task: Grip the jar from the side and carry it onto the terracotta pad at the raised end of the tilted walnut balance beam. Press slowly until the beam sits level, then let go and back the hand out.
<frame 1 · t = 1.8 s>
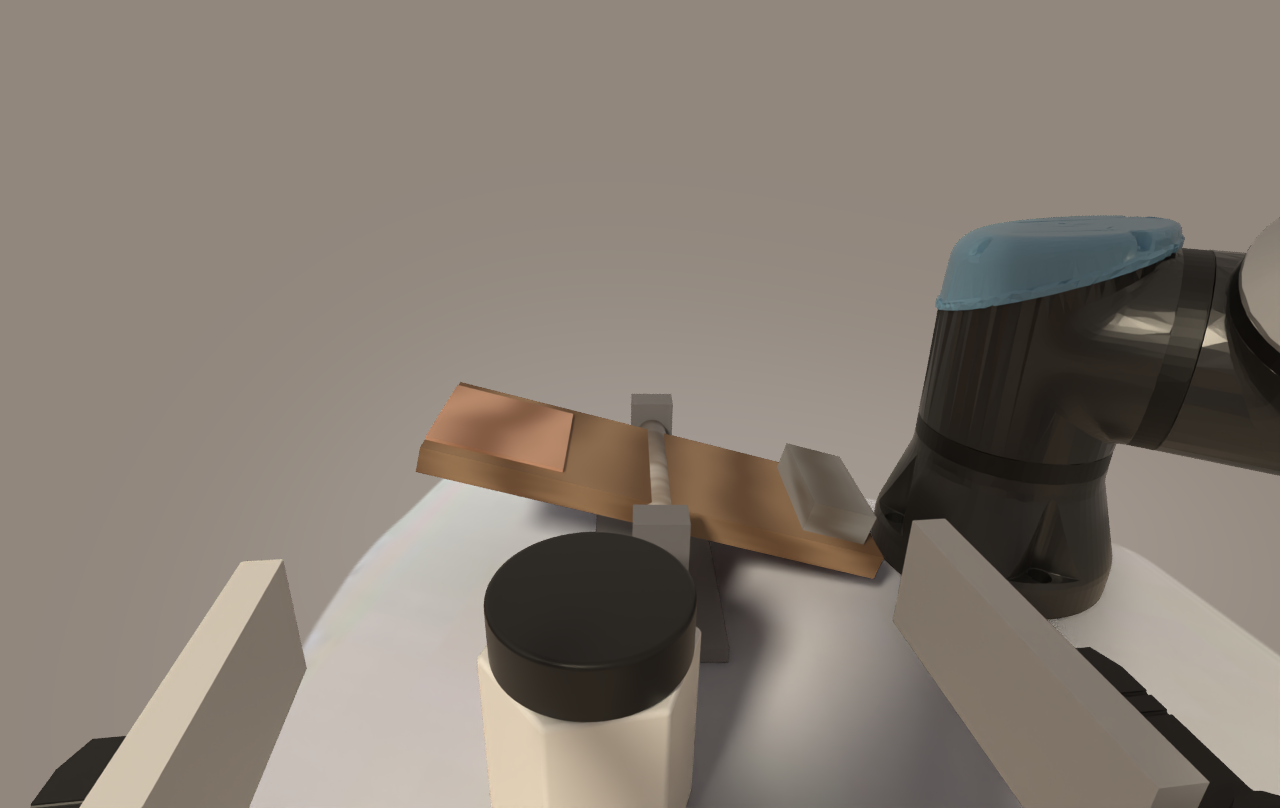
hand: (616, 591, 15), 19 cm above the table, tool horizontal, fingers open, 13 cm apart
beam: (658, 462, 45), point 8 cm above the table, hinge at -15.0°
pivot stand: (652, 564, 48), on the table
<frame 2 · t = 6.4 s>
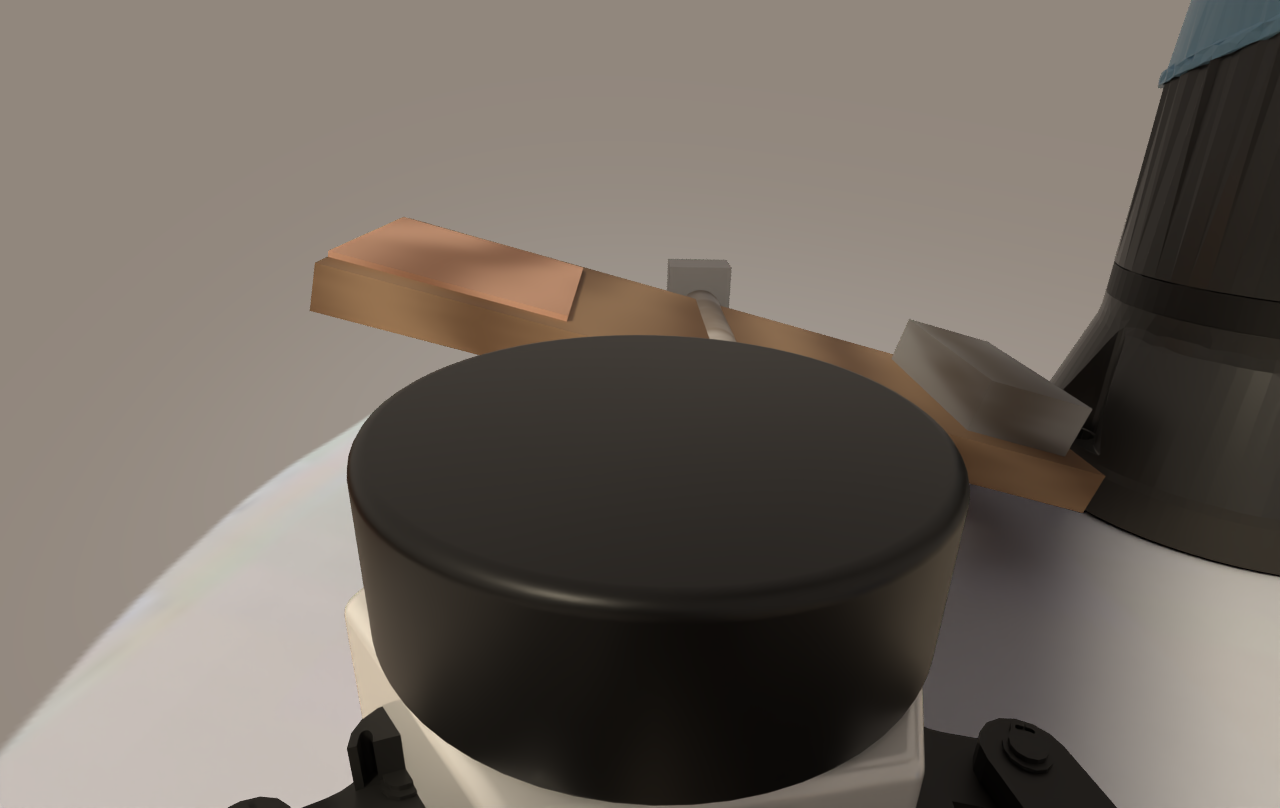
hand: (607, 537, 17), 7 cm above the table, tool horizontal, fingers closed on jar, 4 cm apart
beam: (721, 331, 28), point 8 cm above the table, hinge at -15.0°
pivot stand: (704, 500, 31), on the table
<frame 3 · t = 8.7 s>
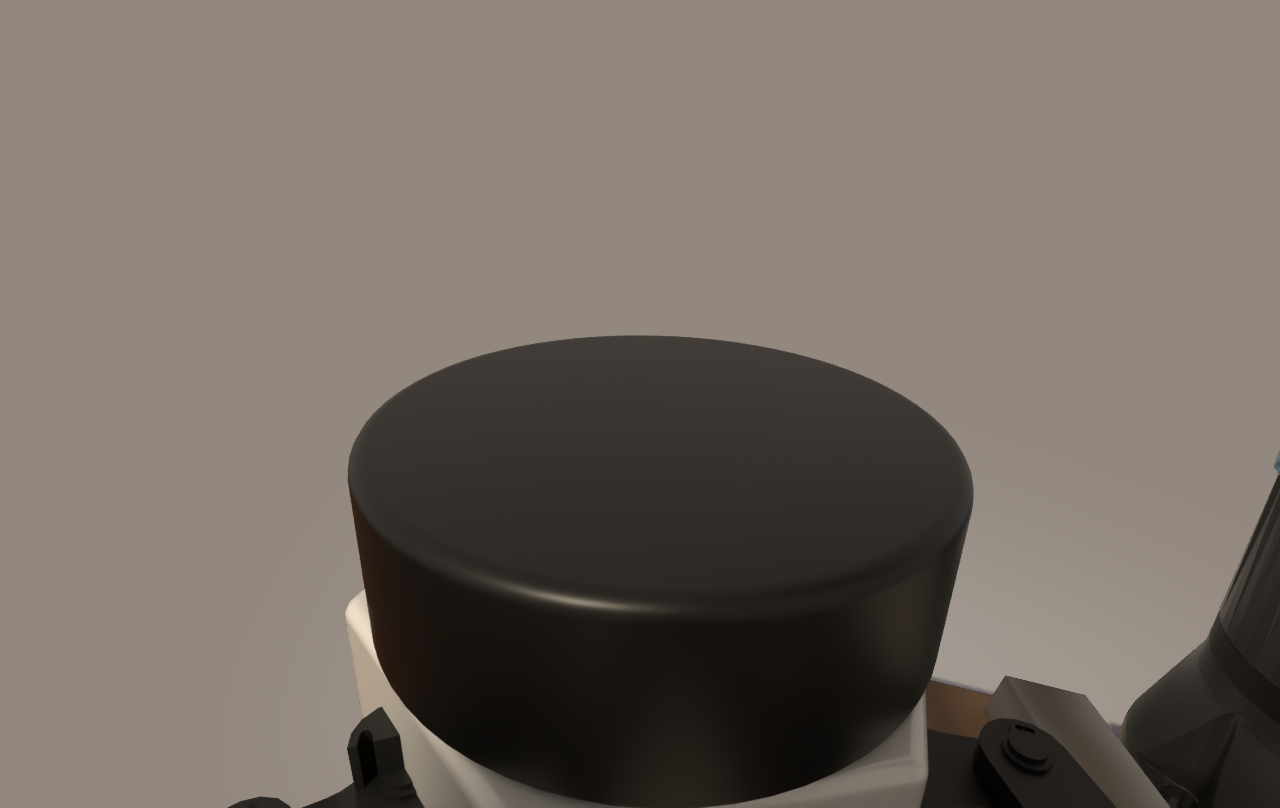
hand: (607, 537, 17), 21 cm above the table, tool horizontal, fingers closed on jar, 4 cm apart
beam: (822, 735, 27), point 8 cm above the table, hinge at -15.0°
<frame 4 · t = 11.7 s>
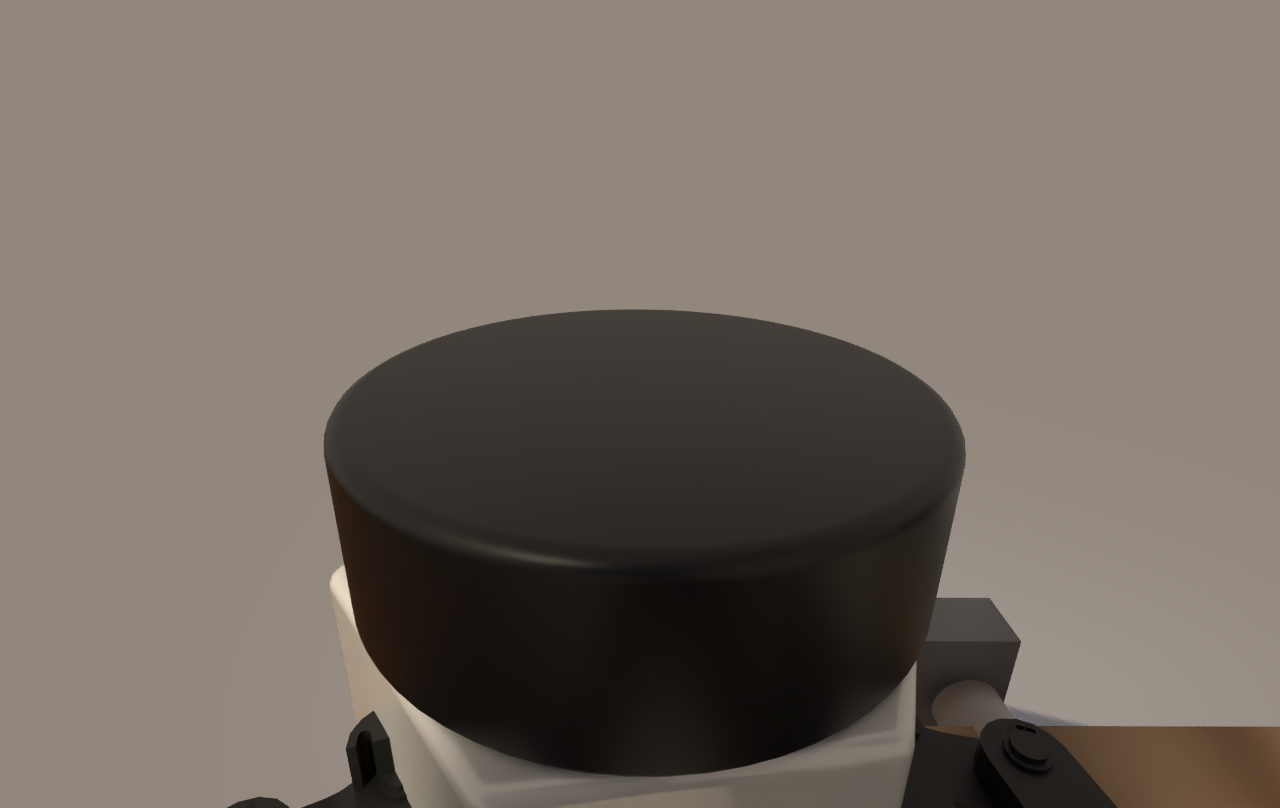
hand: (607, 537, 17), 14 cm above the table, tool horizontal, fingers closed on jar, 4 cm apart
when the fingers open (13 cm above the table, at t = 13.5 s): jar stays where it is, resting on beam.
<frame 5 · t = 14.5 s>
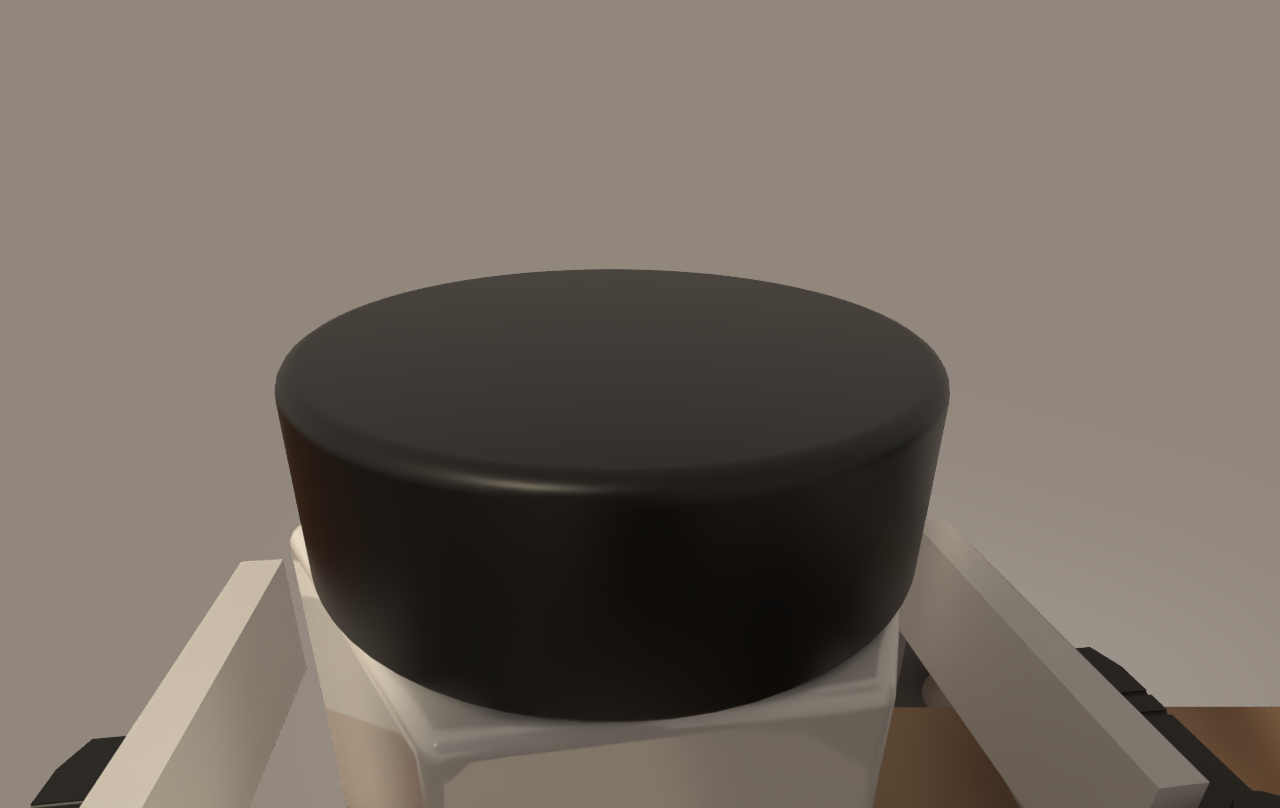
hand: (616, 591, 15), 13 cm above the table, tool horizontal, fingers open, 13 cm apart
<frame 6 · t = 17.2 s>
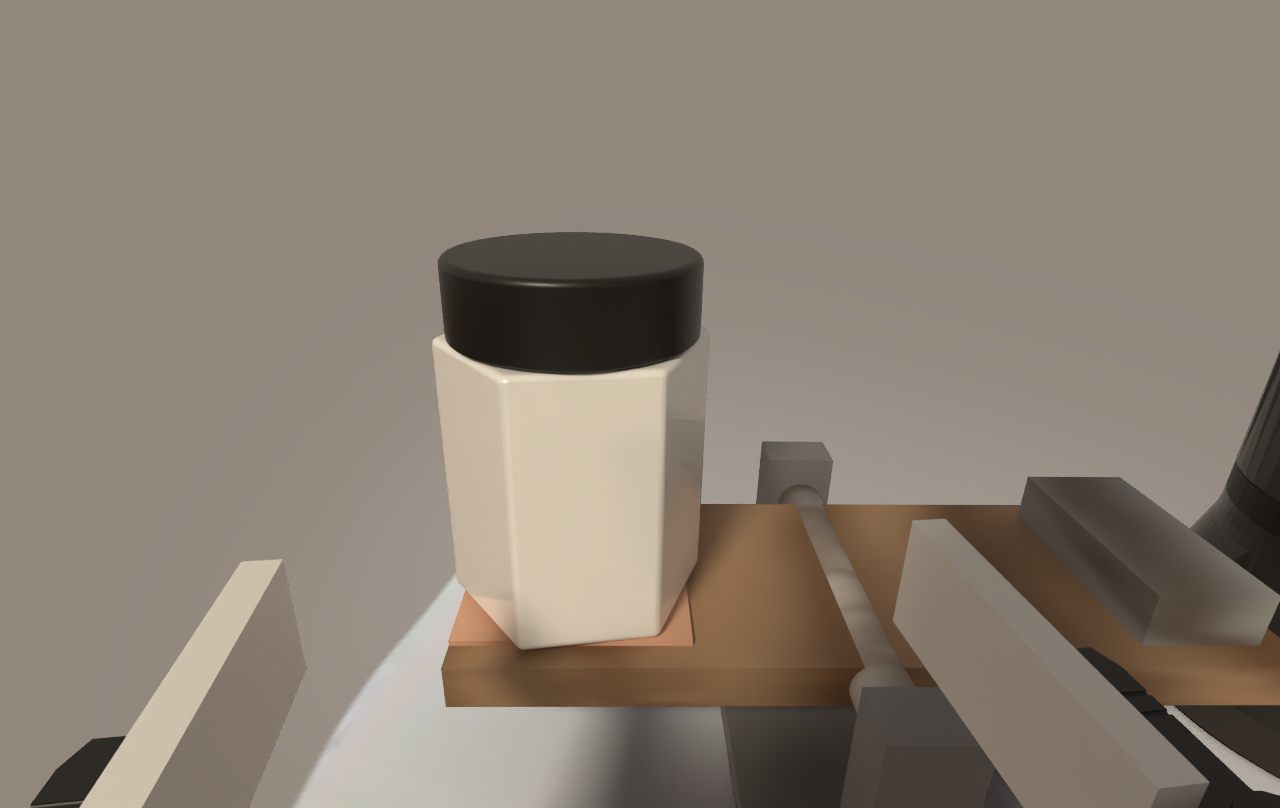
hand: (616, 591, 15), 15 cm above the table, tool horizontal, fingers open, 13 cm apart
beam: (840, 569, 27), point 8 cm above the table, hinge at 0.3°, touching jar
pivot stand: (816, 723, 30), on the table
jar: (580, 578, 26), point 8 cm above the table, touching beam
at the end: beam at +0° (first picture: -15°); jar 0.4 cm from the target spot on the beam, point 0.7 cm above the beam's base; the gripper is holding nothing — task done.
